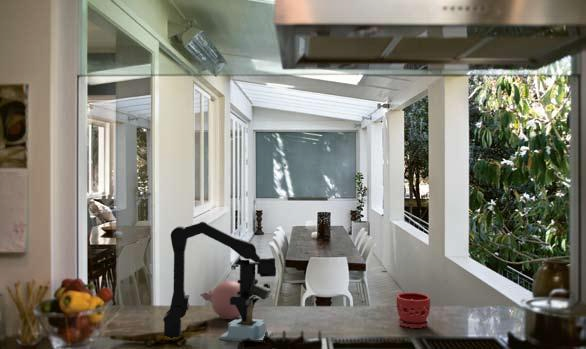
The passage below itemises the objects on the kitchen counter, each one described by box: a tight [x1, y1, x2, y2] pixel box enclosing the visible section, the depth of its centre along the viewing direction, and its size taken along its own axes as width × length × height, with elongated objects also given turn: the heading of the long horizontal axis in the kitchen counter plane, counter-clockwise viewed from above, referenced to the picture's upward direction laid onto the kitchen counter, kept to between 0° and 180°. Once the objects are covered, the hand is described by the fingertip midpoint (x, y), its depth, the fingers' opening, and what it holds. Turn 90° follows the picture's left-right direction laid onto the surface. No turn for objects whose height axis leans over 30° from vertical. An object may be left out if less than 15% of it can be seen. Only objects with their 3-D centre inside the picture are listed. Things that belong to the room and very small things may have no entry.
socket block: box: [219, 318, 274, 342], centre depth 184 cm, size 12×16×5 cm
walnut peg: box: [240, 300, 254, 326], centre depth 184 cm, size 4×4×10 cm
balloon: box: [199, 280, 241, 320], centre depth 211 cm, size 15×20×15 cm
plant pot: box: [395, 292, 431, 329], centre depth 202 cm, size 13×13×12 cm
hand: (246, 320), depth 184 cm, fingers closed on walnut peg, 4 cm apart
